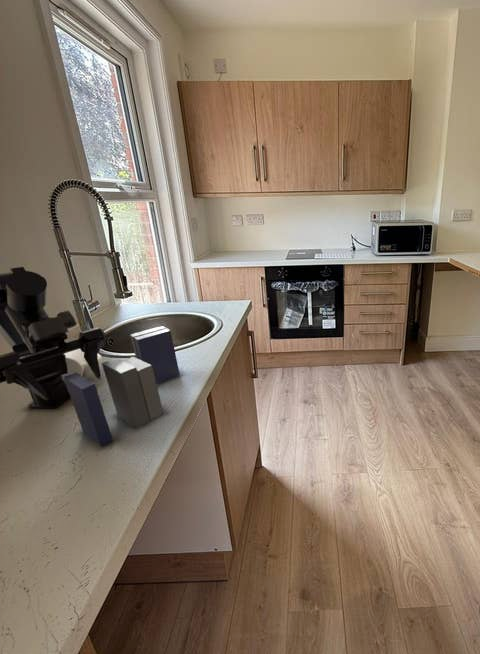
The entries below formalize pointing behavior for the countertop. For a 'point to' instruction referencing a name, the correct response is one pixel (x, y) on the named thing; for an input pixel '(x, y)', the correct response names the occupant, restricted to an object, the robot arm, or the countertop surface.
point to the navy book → (88, 408)
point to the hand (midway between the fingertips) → (74, 387)
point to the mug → (77, 362)
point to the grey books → (133, 390)
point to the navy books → (157, 352)
